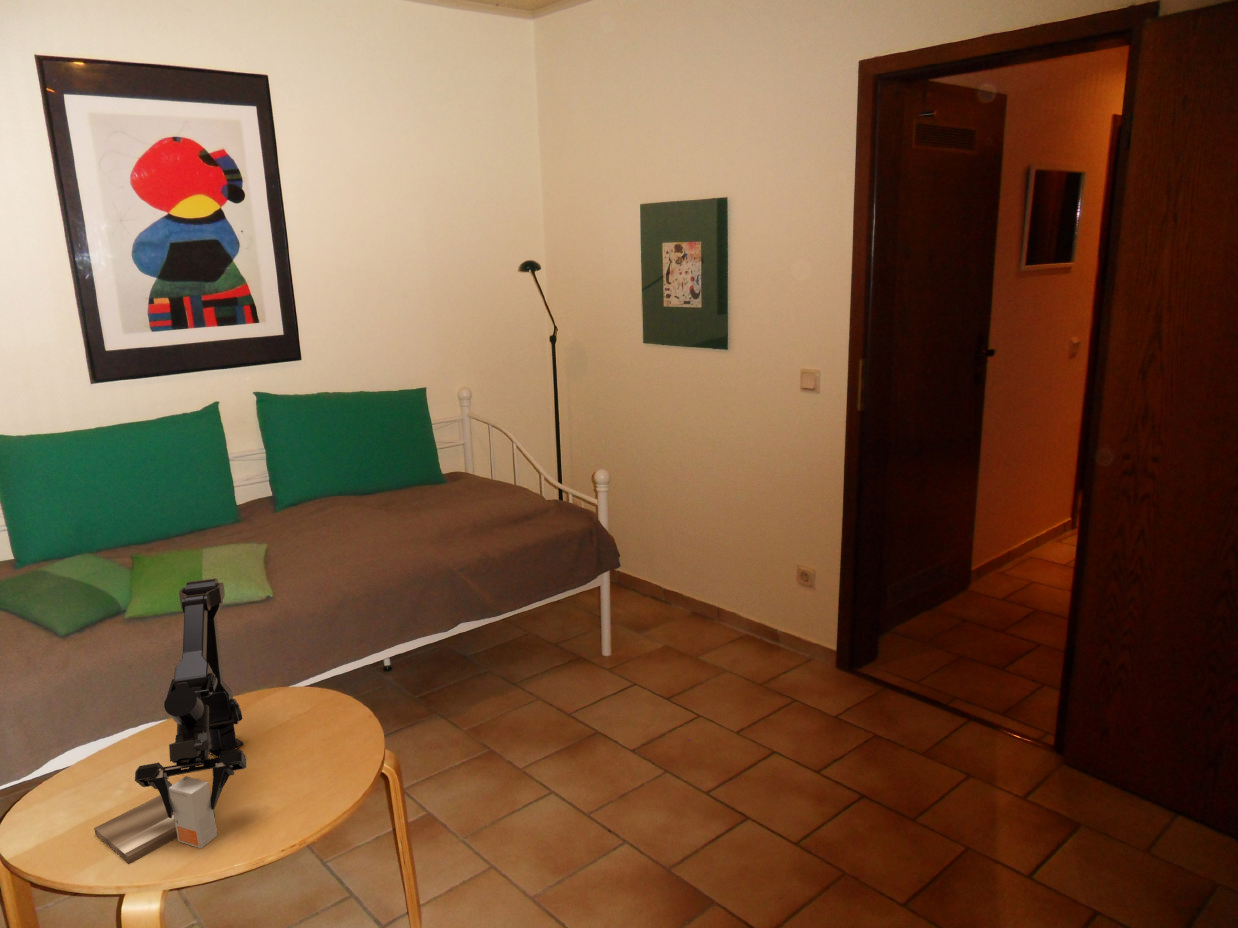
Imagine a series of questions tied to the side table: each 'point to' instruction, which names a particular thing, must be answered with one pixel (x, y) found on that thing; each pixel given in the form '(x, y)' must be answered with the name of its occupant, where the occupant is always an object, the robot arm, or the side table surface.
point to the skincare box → (193, 811)
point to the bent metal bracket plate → (139, 830)
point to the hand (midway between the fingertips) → (191, 813)
